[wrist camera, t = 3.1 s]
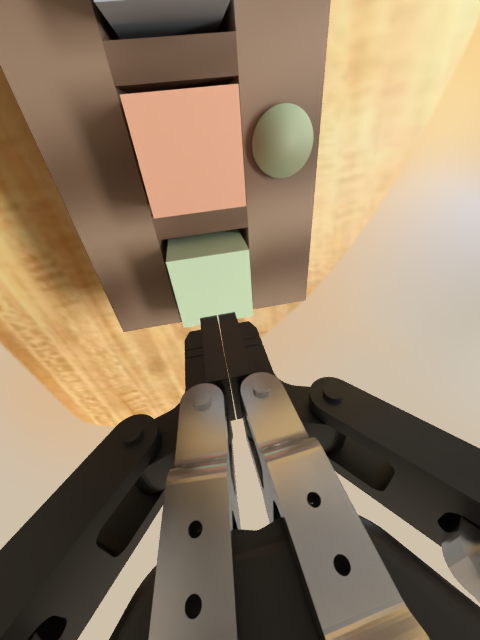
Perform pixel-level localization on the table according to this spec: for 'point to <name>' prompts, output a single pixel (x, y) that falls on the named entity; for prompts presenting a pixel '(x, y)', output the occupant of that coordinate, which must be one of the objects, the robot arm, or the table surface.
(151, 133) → the terracotta button
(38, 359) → the table surface
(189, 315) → the sage button
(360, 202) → the table surface
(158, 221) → the console
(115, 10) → the slate button
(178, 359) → the table surface
